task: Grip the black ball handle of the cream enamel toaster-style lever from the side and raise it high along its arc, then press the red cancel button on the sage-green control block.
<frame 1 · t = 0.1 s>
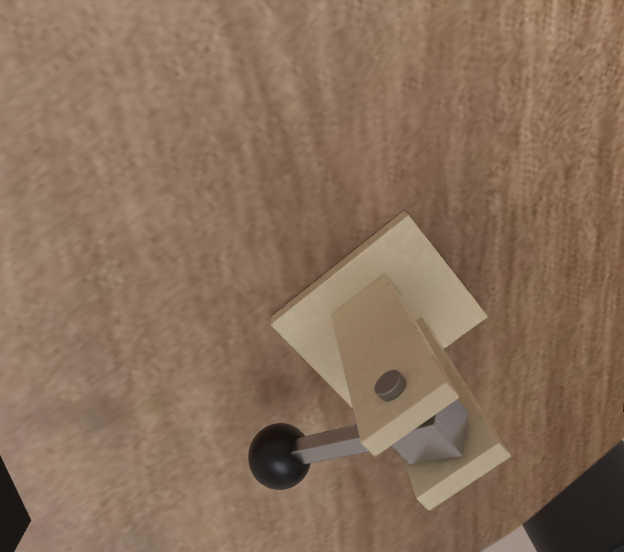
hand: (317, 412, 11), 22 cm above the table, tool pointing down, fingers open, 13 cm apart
lever: (341, 442, 27), point 9 cm above the table, hinge at -30.0°
bracket: (377, 313, 35), on the table
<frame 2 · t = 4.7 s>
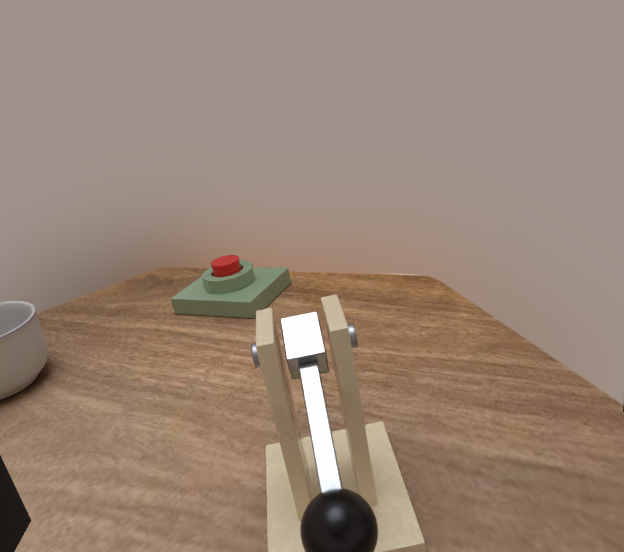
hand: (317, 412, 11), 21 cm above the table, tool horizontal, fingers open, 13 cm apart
lever: (320, 431, 27), point 9 cm above the table, hinge at -30.0°
control block: (234, 297, 69), on the table
cancel button: (226, 266, 68), point 4 cm above the table, slide at 0.1 cm
bracket: (336, 500, 35), on the table
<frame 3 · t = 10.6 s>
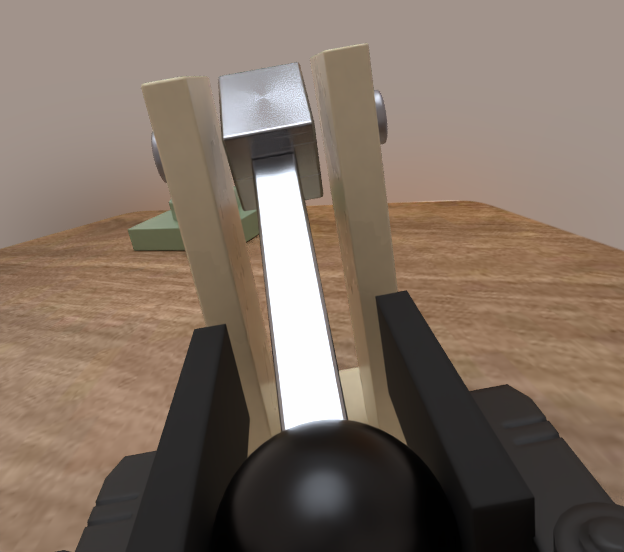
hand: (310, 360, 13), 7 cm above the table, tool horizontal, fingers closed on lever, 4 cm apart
lever: (294, 290, 11), point 9 cm above the table, hinge at -30.0°, touching gripper
control block: (212, 232, 53), on the table
bracket: (338, 486, 18), on the table
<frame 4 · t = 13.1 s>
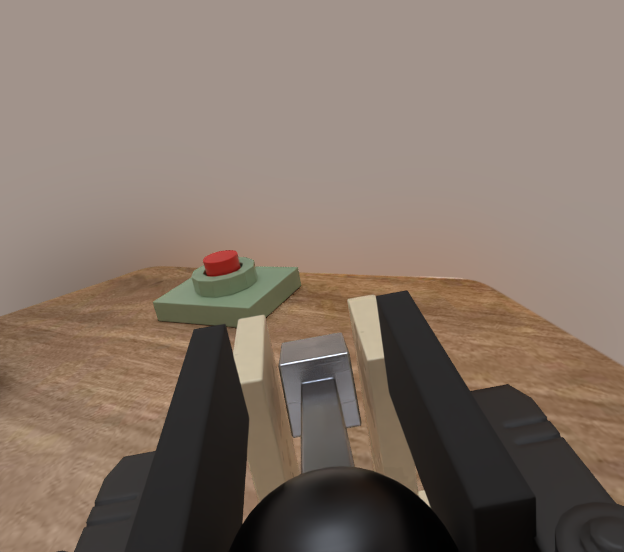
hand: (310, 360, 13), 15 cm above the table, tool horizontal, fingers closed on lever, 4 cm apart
lever: (326, 451, 12), point 13 cm above the table, hinge at 14.4°, touching gripper
control block: (231, 302, 57), on the table
cancel button: (221, 264, 55), point 4 cm above the table, slide at 0.1 cm
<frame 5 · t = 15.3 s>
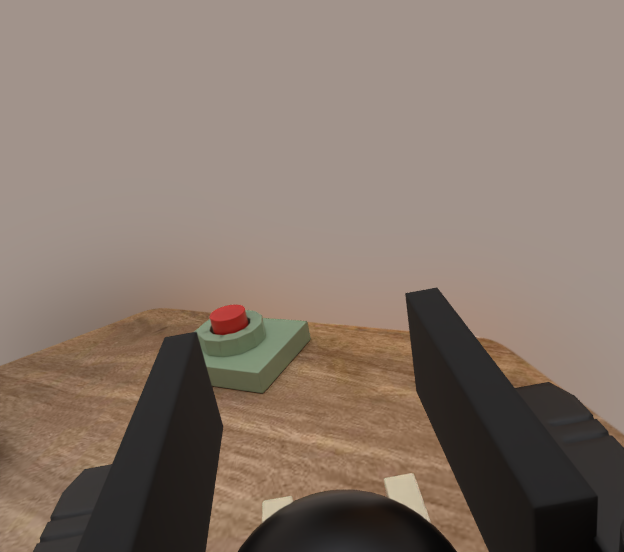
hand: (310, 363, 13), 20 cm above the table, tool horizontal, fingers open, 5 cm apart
control block: (238, 358, 55), on the table
cancel button: (229, 320, 53), point 4 cm above the table, slide at 0.1 cm
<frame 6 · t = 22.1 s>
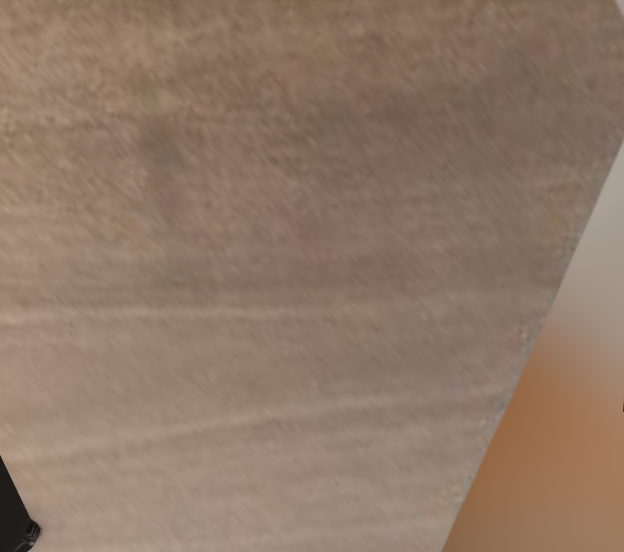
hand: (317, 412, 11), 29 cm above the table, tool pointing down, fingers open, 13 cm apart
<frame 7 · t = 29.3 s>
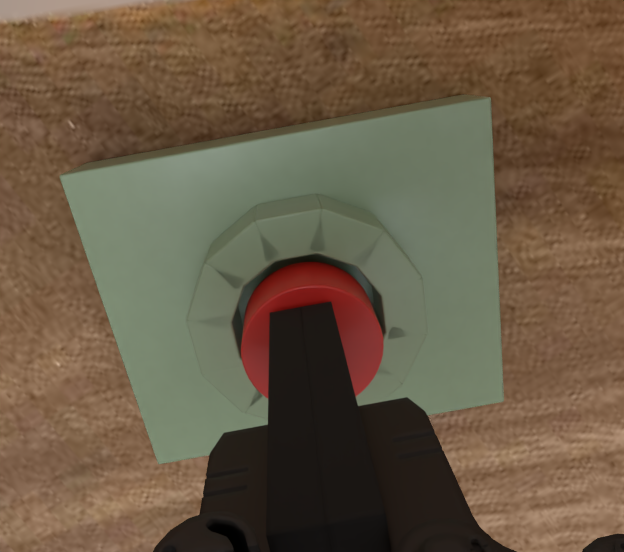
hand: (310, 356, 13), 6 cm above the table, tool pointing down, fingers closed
control block: (302, 276, 18), on the table
cancel button: (310, 335, 14), point 4 cm above the table, slide at 0.1 cm, touching gripper
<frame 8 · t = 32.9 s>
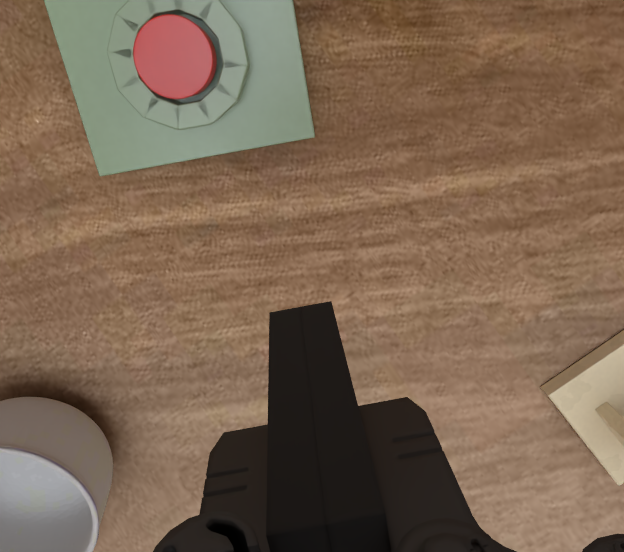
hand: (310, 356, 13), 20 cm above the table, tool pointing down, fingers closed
control block: (190, 60, 29), on the table
cancel button: (176, 58, 25), point 4 cm above the table, slide at 0.1 cm
teacup: (54, 456, 38), on the table
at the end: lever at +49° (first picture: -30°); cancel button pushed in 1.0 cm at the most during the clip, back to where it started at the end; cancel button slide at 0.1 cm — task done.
